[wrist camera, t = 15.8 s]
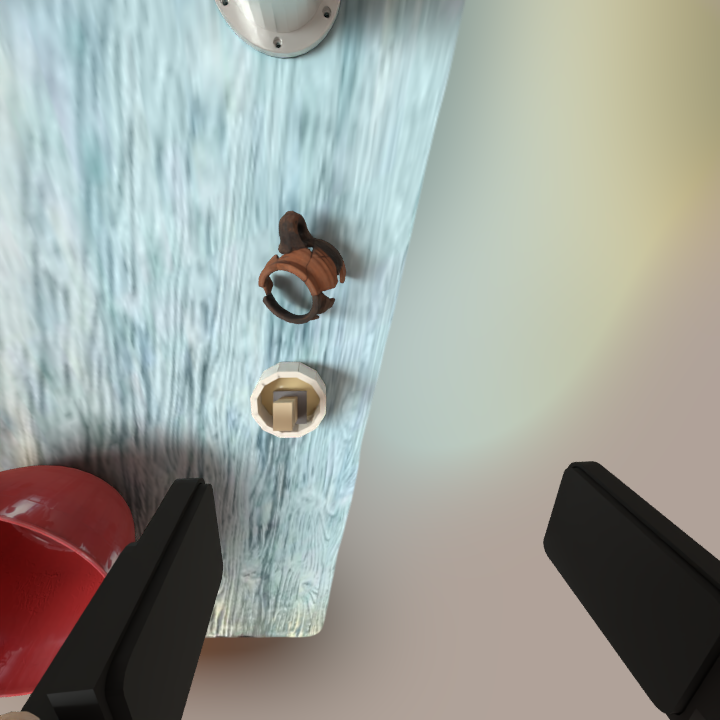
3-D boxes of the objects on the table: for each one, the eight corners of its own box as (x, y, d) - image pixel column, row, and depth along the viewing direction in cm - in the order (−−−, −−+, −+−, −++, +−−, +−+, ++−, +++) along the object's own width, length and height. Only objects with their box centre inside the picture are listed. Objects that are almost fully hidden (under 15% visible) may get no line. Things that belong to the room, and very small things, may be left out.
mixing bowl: (196, 454, 48) (144, 546, 34) (155, 590, 56) (98, 711, 42) (-36, 396, 42) (-222, 480, 27) (-45, 558, 50) (-194, 689, 35)
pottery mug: (358, 295, 43) (337, 329, 37) (296, 300, 47) (266, 332, 40) (334, 196, 36) (303, 216, 30) (263, 210, 40) (222, 231, 34)
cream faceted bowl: (253, 362, 44) (248, 371, 41) (325, 361, 46) (326, 371, 42) (258, 424, 48) (253, 438, 44) (325, 423, 49) (325, 436, 46)
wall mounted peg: (274, 391, 46) (261, 396, 36) (306, 390, 46) (303, 396, 36) (274, 423, 46) (261, 437, 35) (306, 422, 46) (303, 436, 36)
